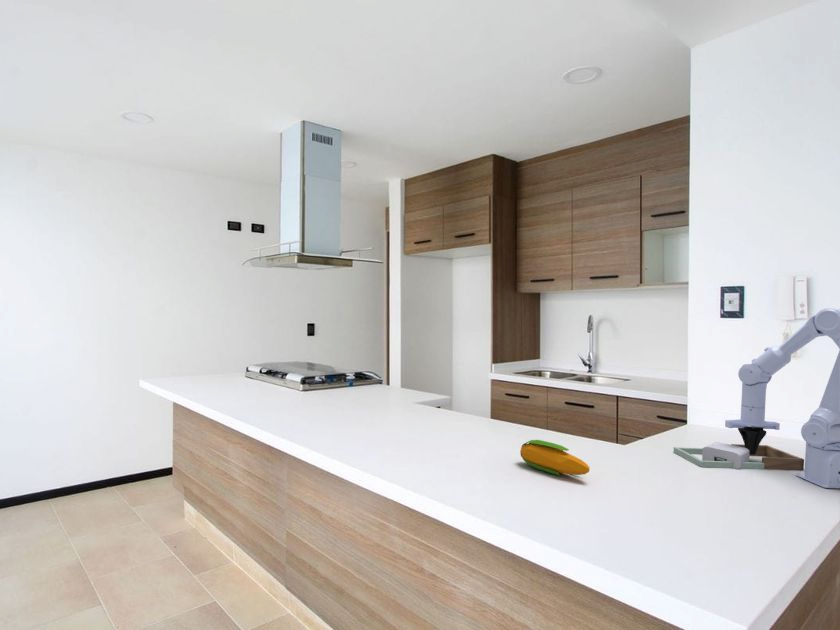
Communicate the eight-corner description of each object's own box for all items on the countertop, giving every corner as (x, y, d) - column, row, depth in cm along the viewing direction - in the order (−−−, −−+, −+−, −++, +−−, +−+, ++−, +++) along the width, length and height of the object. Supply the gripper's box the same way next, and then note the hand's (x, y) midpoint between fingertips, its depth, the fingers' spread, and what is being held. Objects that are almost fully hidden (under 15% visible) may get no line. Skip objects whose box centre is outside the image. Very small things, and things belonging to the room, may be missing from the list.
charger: (755, 461, 145) (739, 471, 135) (719, 453, 152) (701, 462, 142) (756, 445, 145) (739, 453, 135) (720, 438, 152) (702, 445, 142)
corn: (531, 431, 136) (599, 449, 121) (531, 459, 137) (598, 480, 122) (513, 437, 132) (582, 456, 116) (513, 466, 132) (582, 488, 117)
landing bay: (764, 469, 137) (764, 463, 137) (700, 467, 136) (701, 461, 136) (730, 454, 151) (731, 449, 150) (673, 452, 150) (673, 447, 150)
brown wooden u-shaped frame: (803, 470, 137) (804, 459, 137) (764, 469, 137) (764, 458, 136) (766, 455, 151) (767, 445, 151) (730, 454, 151) (731, 444, 150)
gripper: (767, 404, 148) (765, 450, 148) (719, 402, 147) (717, 448, 147) (786, 409, 140) (783, 457, 141) (735, 407, 140) (732, 455, 140)
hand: (750, 453), depth 144 cm, fingers closed
